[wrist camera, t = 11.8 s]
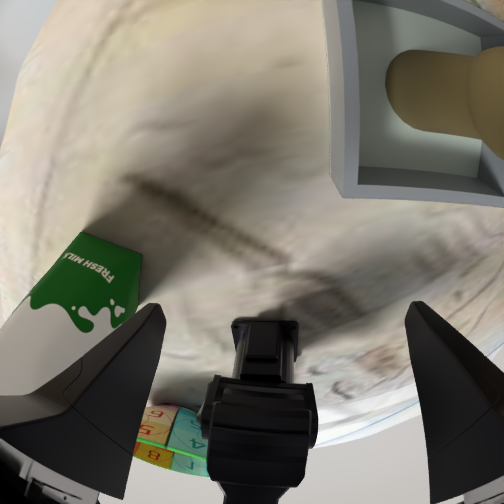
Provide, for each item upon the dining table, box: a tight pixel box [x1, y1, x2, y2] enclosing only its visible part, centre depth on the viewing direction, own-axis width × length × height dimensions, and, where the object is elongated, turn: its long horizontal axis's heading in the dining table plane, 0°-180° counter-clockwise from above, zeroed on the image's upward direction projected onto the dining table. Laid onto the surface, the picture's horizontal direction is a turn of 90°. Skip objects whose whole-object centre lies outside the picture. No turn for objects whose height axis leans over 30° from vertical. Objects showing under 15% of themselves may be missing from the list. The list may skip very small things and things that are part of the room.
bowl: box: [133, 405, 210, 477], centre depth 38 cm, size 22×22×10 cm
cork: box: [385, 46, 504, 160], centre depth 9 cm, size 6×6×11 cm
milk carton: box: [0, 232, 142, 395], centre depth 17 cm, size 9×9×20 cm
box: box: [321, 0, 504, 208], centre depth 12 cm, size 14×14×4 cm
